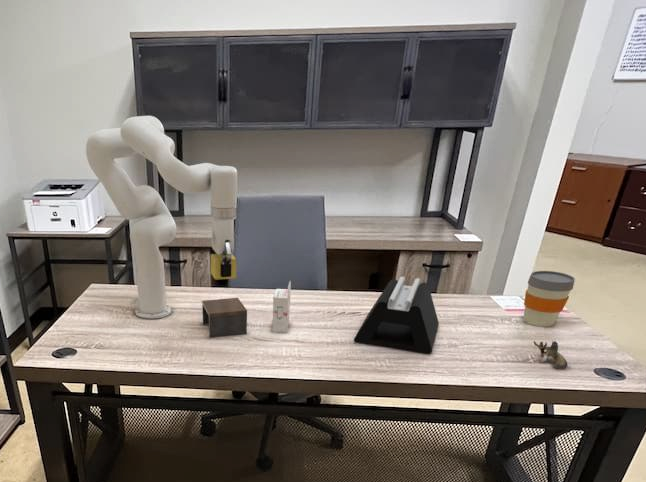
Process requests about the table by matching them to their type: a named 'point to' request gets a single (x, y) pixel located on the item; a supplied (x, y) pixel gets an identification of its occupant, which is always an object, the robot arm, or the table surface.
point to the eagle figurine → (552, 354)
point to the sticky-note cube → (216, 267)
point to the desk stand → (225, 317)
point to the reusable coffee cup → (546, 297)
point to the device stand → (401, 318)
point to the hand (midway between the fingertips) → (223, 272)
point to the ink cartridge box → (281, 309)
